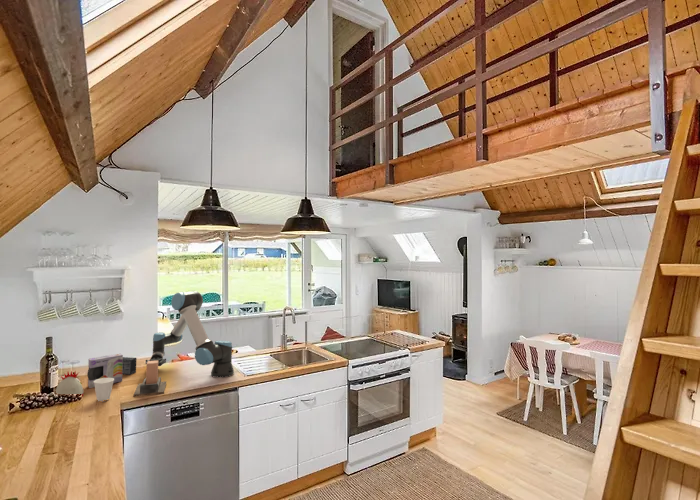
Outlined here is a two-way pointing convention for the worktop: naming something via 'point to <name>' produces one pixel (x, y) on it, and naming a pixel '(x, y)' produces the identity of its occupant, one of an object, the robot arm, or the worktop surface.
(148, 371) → the block
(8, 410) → the worktop surface
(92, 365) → the cake pan box
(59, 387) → the red-crested grey dome
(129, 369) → the small box
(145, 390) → the grey socket base
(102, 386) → the cup
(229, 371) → the robot arm
